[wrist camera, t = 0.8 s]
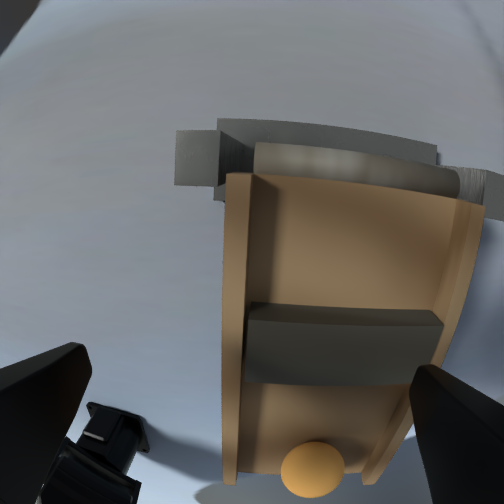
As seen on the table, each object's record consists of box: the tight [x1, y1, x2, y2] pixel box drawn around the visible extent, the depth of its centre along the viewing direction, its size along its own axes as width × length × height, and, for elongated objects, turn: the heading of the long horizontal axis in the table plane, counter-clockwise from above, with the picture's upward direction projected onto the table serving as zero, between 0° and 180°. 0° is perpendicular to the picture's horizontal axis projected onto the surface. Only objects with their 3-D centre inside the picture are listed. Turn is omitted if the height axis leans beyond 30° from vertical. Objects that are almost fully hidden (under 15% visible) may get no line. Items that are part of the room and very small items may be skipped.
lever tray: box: [222, 142, 486, 485], centre depth 13 cm, size 19×10×3 cm, turn 177°
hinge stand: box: [174, 118, 504, 221], centre depth 14 cm, size 5×14×8 cm, turn 87°
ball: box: [281, 442, 345, 498], centre depth 13 cm, size 4×4×4 cm
